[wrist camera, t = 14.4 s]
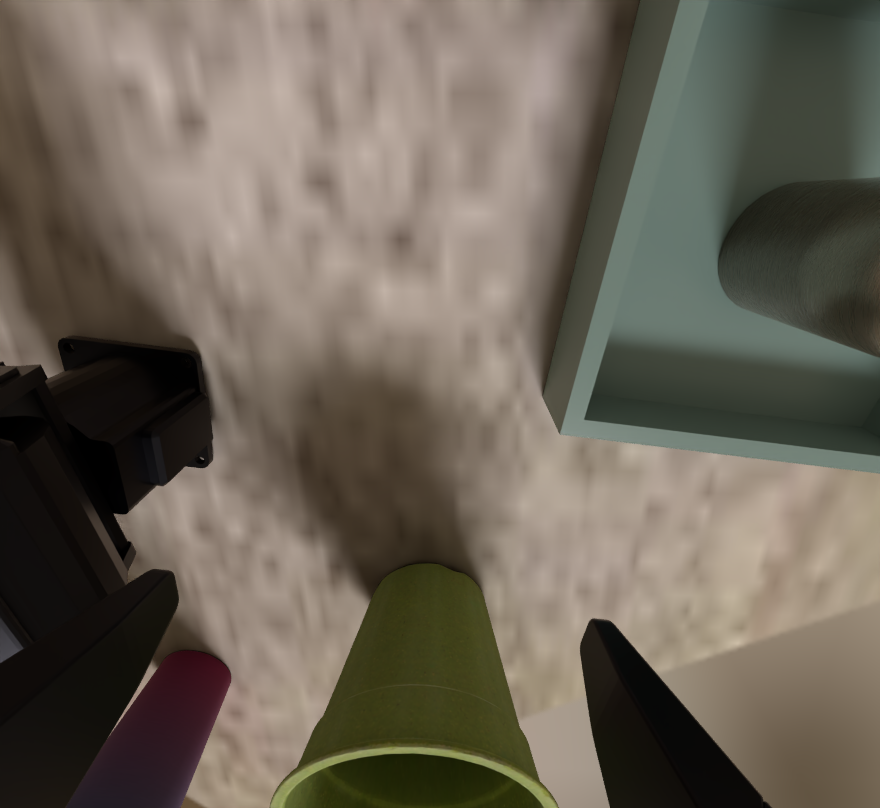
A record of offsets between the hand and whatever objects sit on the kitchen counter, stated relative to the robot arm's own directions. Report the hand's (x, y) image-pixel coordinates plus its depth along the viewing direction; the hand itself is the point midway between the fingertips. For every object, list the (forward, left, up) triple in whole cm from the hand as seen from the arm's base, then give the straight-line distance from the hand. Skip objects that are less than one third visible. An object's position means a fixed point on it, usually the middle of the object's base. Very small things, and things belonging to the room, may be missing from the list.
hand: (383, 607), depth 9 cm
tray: (+14, +8, -13) cm, 21 cm away
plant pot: (+2, -15, -13) cm, 20 cm away
